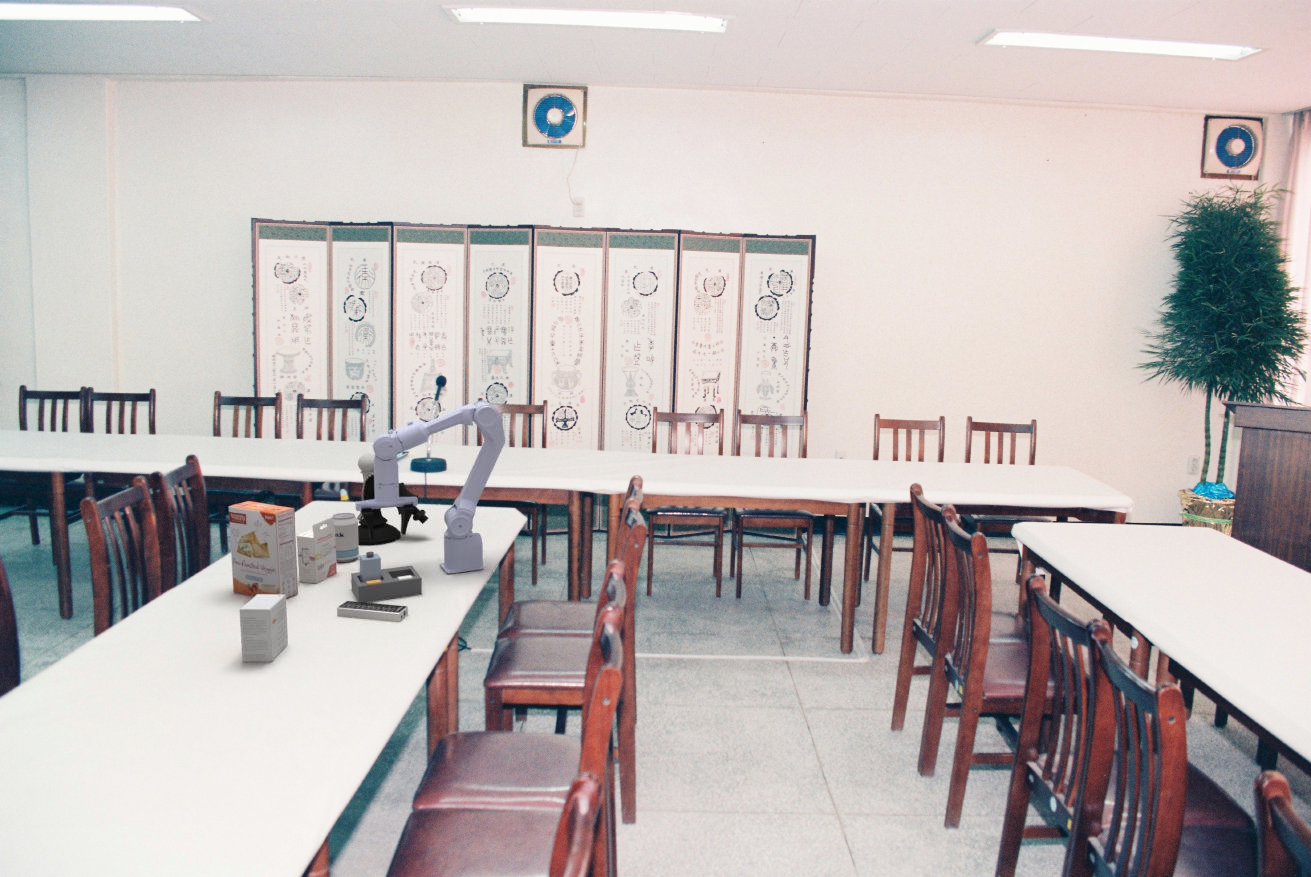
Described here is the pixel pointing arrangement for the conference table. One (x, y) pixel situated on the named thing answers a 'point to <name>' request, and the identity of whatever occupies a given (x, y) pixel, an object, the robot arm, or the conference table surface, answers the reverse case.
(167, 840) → the conference table surface
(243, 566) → the cracker box
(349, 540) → the beverage can
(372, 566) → the plug
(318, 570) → the ink cartridge box
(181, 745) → the conference table surface
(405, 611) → the multiport hub
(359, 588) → the port box
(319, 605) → the conference table surface
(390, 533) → the sculpture
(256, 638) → the small box
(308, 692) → the conference table surface
